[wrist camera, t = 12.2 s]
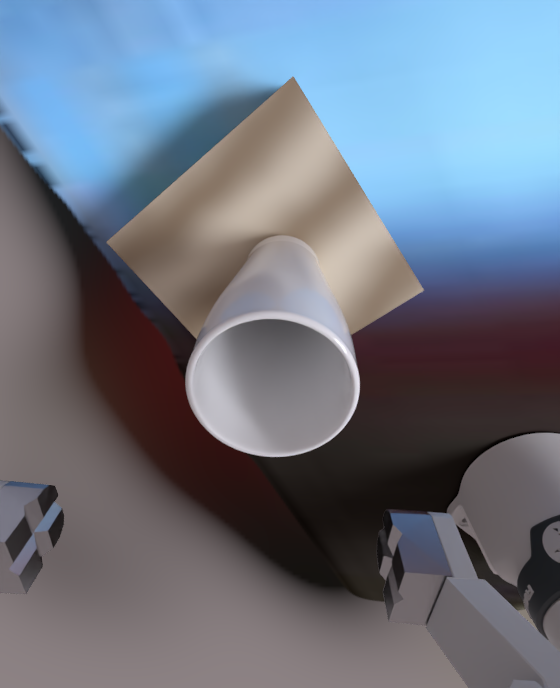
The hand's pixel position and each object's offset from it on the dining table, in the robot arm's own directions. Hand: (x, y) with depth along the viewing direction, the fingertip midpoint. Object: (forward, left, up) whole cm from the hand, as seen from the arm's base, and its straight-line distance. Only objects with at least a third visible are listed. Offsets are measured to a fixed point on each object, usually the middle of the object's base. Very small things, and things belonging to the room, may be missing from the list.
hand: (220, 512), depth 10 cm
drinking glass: (-1, -1, -21) cm, 21 cm away
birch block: (0, 0, -27) cm, 27 cm away
